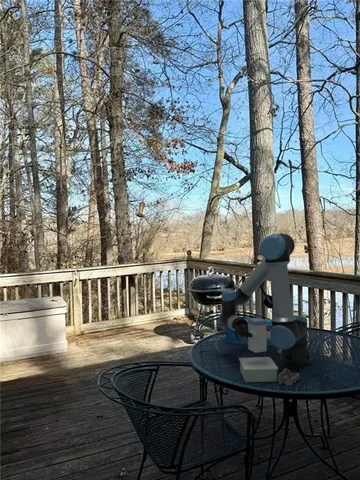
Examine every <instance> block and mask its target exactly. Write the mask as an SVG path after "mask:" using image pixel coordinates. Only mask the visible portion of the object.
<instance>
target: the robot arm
mask: <svg viewBox="0 0 360 480" xmlns="http://www.w3.org/2000/svg"><path fill="white" fill-rule="evenodd" d="M295 243H296V242H295V240H294V239H293V237H292V236H291V235H290V234H287V233H275V234H274V233H273V234H270V235H267V236H265V237H264V238H263V239H262V241H261V242H260V246H259V249H260V251H259V252H260V254H261V255H262V257H264V258H263V260H261V262H259V264H258V265H257V267H256V268H254V270H253V271H252V272H251V273H250V274H249V275H248V277H247V278H246V279H245V280H244V281H243V283H242V284H241V285H240V286H239V287H238V288H237V290H235V289H224V290H222V291H221V298H220V299H221V312H220V313H219V315H218V321H219V323H220V324H221V325H222V326H223V327H225V328H226V327H227V328H229V329H231V330H232V332H235V333H237V334H238V335H240V336H242V337H244V336H245V338H248V337H250V338H252V339H254V340H256V341H258V335H257V334H255V333H253V332H251V331H249V332H248V322H247V321H246V320H245V319H243V318H244V317H241V316H238V315H237V307H238V306H241V305H244V304H246V303H247V302H249V301H250V298H251V296H252V295H253V294H254V292H256V291H257V289H258V288H259V287H260V286H261V285H262V284H263V283H264V282H265V280H266V279H268V277H269V279H270V280H269V281H270V289H271V298H272V308H273V309H272V310H273V317H272V318H271V319H270V320H271V322H272V329H271V330H270V332H268V331H267V328H266V338H268V339H270V340H271V342H272V344H273V345H275V346H276V347H277V349H279V350H280V354H279V359H280V360H279V361H281V362H282V363H284V364H286V365H291V366H308V365H309V364H311V363H312V355H311V353H310V350H309V347H308V323H309V322H308V318H307V317H306V316H303V315H298V314H293V307H292V298H291V290H290V289H291V288H290V279H289V269H288V265H289V263H290V262H291V256H292V254H293V253H294V250H295V248H296V247H295V246H296V244H295ZM276 347H275V348H276Z"/></svg>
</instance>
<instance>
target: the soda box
mask: <svg viewBox="0 0 360 480" xmlns="http://www.w3.org/2000/svg"><path fill="white" fill-rule="evenodd" d="M242 318H243V319H245V320H246V321H247V322H248V319H249V318H246V317H242ZM265 320H266V328H267V331H268V332H270V330H271V329H272V322H271V319H265ZM266 342H267V346H273V347H272V348H276V346H275V345H273V344H272V342H271V340H270V339H268V338H266ZM225 344H230V345H231V344H232V345H241V346H242V345H243V346H248V338H245V336H244V337H242V336H240V335H238V334H237V333H235V332H232V330H231V329H229V328H227V327H225Z"/></svg>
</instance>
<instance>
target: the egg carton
mask: <svg viewBox="0 0 360 480" xmlns="http://www.w3.org/2000/svg"><path fill="white" fill-rule="evenodd" d="M276 378H277V383H278V384H281V385H285V386H287V387H288V386H289V387H290V386H293V385H294V384H296V383H297V381H299V380H300V373H298V372H296V371H293V372H292V371H291V370H290V369H288V368H287V367H285V368H283V370H282V371H281V372H280V374H277V377H276Z"/></svg>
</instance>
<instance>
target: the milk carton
mask: <svg viewBox="0 0 360 480" xmlns="http://www.w3.org/2000/svg"><path fill="white" fill-rule="evenodd" d="M266 320H267V319H263V318H261V317H252V318H248V332H249V331H251V332H253V333H255V334H257V335H258V341H256V340H254V339H252V338H250V337H248V345H247V349H248V350H250V351H251V352H253V353H255V354H256V353H262V352H264V353H265V352H267V348H268V347H267V342H266Z"/></svg>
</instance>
